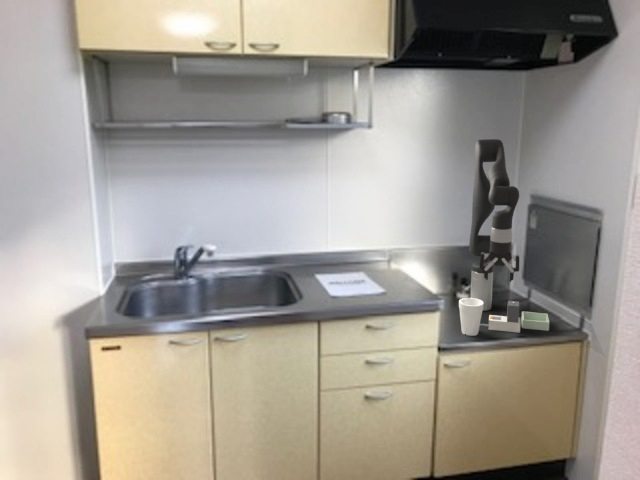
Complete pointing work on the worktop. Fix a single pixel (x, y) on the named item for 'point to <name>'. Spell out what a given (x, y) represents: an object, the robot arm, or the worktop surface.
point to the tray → (535, 321)
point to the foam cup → (470, 315)
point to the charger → (513, 311)
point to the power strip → (502, 324)
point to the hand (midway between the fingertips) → (498, 280)
